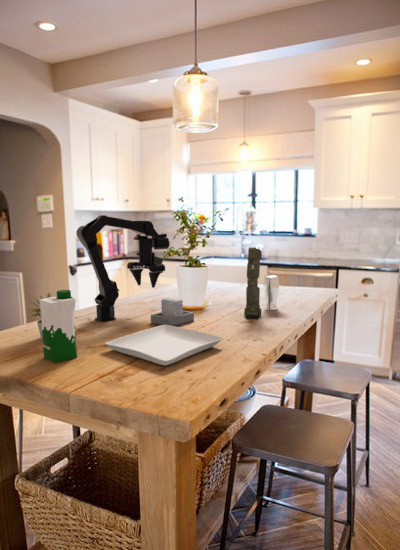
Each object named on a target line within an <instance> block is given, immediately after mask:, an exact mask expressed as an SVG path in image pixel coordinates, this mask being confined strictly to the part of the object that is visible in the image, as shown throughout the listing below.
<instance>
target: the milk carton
mask: <svg viewBox="0 0 400 550" xmlns="http://www.w3.org/2000/svg"><path fill="white" fill-rule="evenodd" d="M56 296H57V297H56ZM56 296H54V297H53V296H52V297H51V296H50V297H48V298H47V297H45V298H43V299H41V298H39V299H38V300H39V302H40V305H39V306H40V308H39V309H40V310H41V313H40V315H41V316H40V318H41V319H40V320H41V321H42V337H43V340H42V348H43V358H45V360H48V361H49V362H51V363H53V364H57V363H61V362H65V361H69V360H73V359H77V358H78V352H77V351H78V350H77V334H76V317H75V316H76V314H75V312H76V311H75V310H76V301H77V300H76V299H77V298H74V297H73V296H72V291H71V290H69V289H61V290H57V291H56Z"/></svg>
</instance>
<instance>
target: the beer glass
mask: <svg viewBox="0 0 400 550" xmlns="http://www.w3.org/2000/svg"><path fill="white" fill-rule="evenodd" d="M279 291H280V276H279V275H275V274H274V275H271V274H270V275H269V274H268V275H264V278H263V293H264V301H265V302H264V308H263V309H264V310H267V311H276V310H278V308H279V307H278V296H279Z"/></svg>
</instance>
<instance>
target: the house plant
mask: <svg viewBox="0 0 400 550" xmlns="http://www.w3.org/2000/svg"><path fill="white" fill-rule="evenodd" d="M52 294H53V293H51V292H47V295H46V298H48V297H51V295H52ZM30 297H31V298H33V299H34V300H35V301H36V302H37V303H36V302H35V301H31V300H30V303H32V305H34V306H35V307H36V308H34V307H31V308H28V310H29V313H30V314H31V313H33V314H32V315H31V317H33V319H34V318H36V317H37V316H38V317H41V310H40V308H39V307H40V302H39V299H44V297H43V296H41V295H40V296H39V299H37V298H36V297H35V296H33V295H31V296H30ZM52 297H57V295H56V296H55V294H53V295H52ZM36 323H37V327H38V331H39V336H40V339H41V340H42V341H43V337H42V321H41V319H39V320H38V319H37V321H36Z"/></svg>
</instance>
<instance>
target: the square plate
mask: <svg viewBox="0 0 400 550" xmlns="http://www.w3.org/2000/svg"><path fill="white" fill-rule="evenodd" d="M222 340H224V337H222V336H218V335H214V334H211V333H206V332H204V331H203V332H202V331H198V330H195V329H190V328H184V327H180V326H170V325H161V326H159V325H156V326H155V327H151V328H146V329H144V330H140V331H137V332H133V333H130V334H127V335H124V336H121V337H118V338H115V339H112V340H108V341H106V342H104V345H106V346H107V347H108V348H109V349H111V350H113V351H115V352H118V353H121V354H125V355H128V356H132V357H136V358H139V359H142V360H145V361H148V362H151V363H154V364H157V365H160V366H168V365H172V364H174V363H176V362H179V361H181V360H183V359H185V358H188V357H191V356H193V355H195V354H198V353H201V352H202V351H205V350H209V349H210V348H212V347H215V346H216V345H218V344H219V343H220V342H221V341H222Z"/></svg>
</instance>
